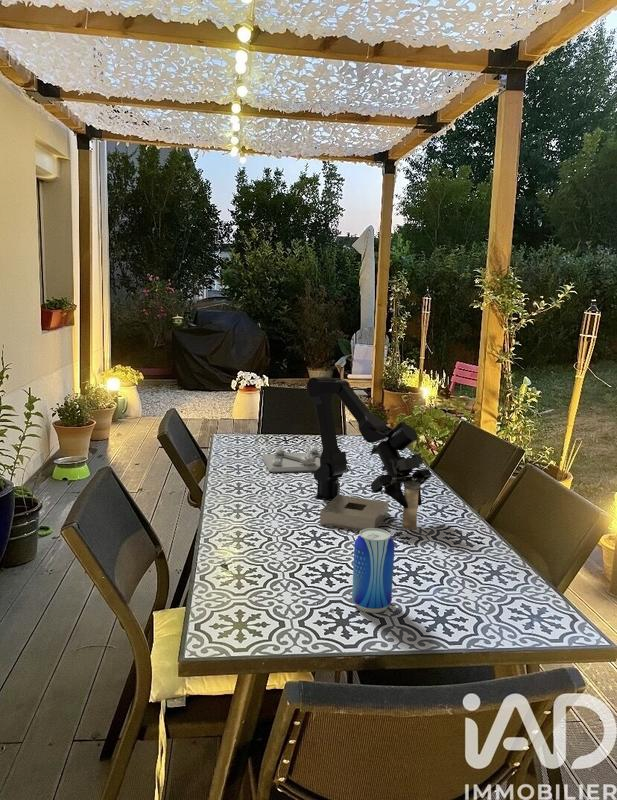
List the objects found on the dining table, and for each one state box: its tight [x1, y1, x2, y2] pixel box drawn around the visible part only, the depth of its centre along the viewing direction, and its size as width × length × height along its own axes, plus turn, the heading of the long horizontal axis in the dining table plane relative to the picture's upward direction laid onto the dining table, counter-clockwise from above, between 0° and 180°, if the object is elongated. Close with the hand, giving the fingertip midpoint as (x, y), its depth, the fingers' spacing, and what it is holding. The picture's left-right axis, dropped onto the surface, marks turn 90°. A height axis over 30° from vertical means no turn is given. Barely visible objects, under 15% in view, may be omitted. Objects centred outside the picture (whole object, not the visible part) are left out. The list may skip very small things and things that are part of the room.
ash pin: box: [401, 481, 421, 531], centre depth 179 cm, size 5×5×13 cm
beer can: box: [351, 528, 395, 614], centre depth 133 cm, size 8×8×16 cm
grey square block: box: [319, 494, 389, 532], centre depth 185 cm, size 16×16×4 cm
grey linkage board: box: [261, 446, 349, 474], centre depth 242 cm, size 30×22×7 cm
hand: (413, 506), depth 178 cm, fingers open, 5 cm apart
